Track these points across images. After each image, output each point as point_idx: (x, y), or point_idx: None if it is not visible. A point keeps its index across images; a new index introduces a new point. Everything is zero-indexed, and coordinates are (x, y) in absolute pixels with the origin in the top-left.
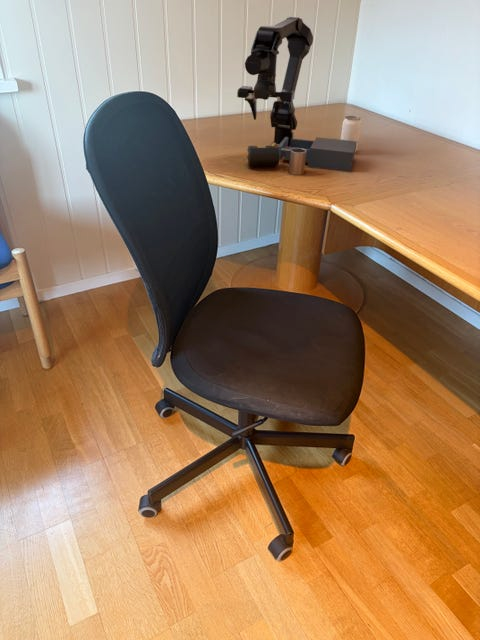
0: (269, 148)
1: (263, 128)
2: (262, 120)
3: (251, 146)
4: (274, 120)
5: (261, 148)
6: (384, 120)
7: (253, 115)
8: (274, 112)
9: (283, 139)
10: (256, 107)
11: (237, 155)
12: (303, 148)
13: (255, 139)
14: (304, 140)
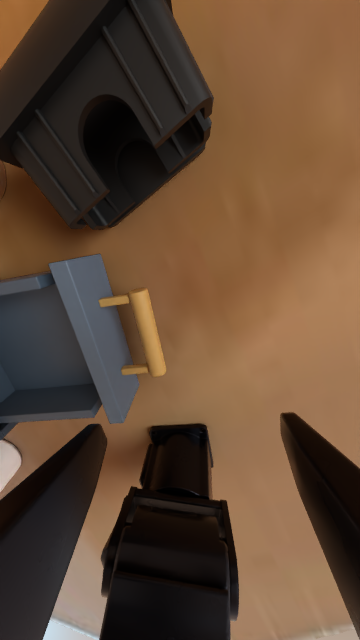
0: (16, 83)
1: (292, 541)
2: (315, 586)
3: (178, 84)
4: (81, 431)
5: (61, 27)
6: (68, 616)
7: (325, 445)
8: (14, 515)
9: (109, 386)
10: (355, 626)
11: (299, 257)
12: (58, 390)
13: (285, 457)
14: (36, 413)
